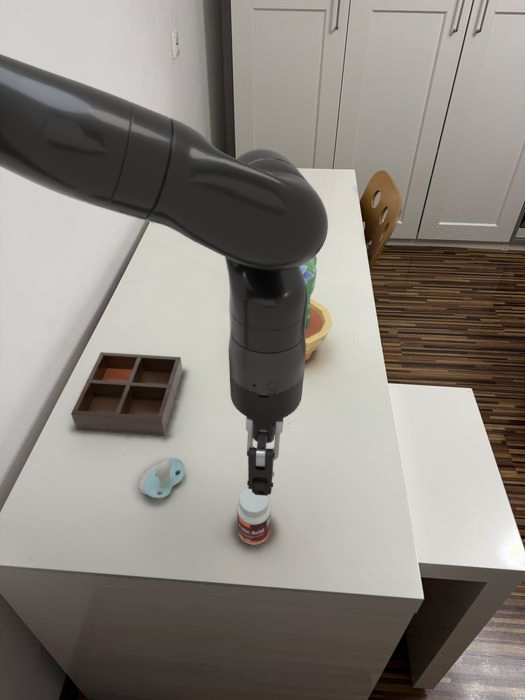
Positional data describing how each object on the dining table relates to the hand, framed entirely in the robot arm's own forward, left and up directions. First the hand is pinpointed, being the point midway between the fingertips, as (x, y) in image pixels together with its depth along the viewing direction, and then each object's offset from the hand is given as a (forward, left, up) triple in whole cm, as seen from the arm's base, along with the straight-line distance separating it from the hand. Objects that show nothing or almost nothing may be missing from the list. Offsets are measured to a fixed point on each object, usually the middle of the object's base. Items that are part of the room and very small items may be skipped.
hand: (264, 461), depth 61 cm
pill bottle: (-1, +1, -18) cm, 18 cm away
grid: (0, +35, -17) cm, 39 cm away
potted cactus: (+31, +25, -18) cm, 44 cm away
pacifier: (-6, +17, -18) cm, 25 cm away
